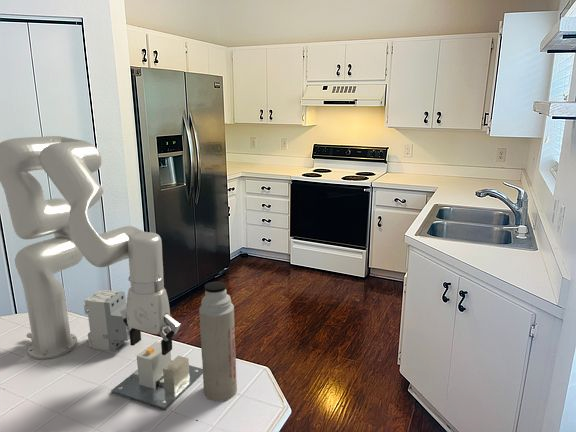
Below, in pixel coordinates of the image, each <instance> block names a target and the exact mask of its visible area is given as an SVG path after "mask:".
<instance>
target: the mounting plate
mask: <svg viewBox="0 0 576 432" xmlns="http://www.w3.org/2000/svg"><path fill="white" fill-rule="evenodd" d="M189 363H190V362H189V357H185V356H182V355H177V356H176V357H175V358H174V359H173V360H172V359H171V362H170V363H169V364H168V365H167V366H165V367H164V368H163V376H162V377H161V378H160V379H159V380H158V381H156V388H155V389H152V388H149V387H146V386H143V385H140V384H139V375H138V368H137V369H136V370H135V371H134V372H132V374H130V375H129V376H128V377H126V378H125V379H124V380H123V381H121V382H120V383H119V384H117V385H116V386H114V388H112V389H111V390H110V393H111V394H113V395H116V396H119V397H122V398H125V399H128V400H131V401H134V402H138V403H140V404H144V405H146V406H149V407H151V408H155V409H159V410H160V411H161V410H162V411H164V412H165V411H166V410H168V408H170V407H171V405H173V404H174V403H175V402H176V401H177V400H178V399H179V398H180V397H181V396H182V394H184V393H185V392H186V391H187V390H188V389H189V388H190V387H191V386H192V385H193V384H194V383H195V382H196V381H197V380H198V379H199V378H200V377H201V376H203V368H201V367H196V366H193V365H190V364H189Z"/></svg>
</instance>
